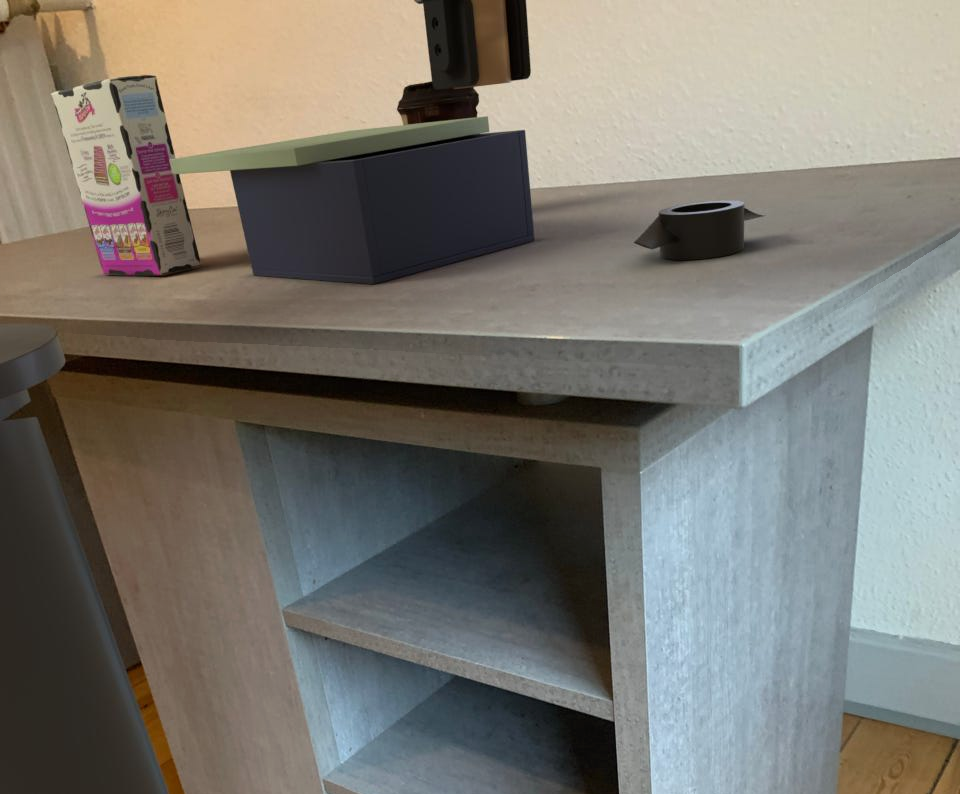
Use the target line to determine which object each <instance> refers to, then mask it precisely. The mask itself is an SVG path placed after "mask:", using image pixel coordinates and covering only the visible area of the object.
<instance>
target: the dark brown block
mask: <svg viewBox="0 0 960 794" xmlns="http://www.w3.org/2000/svg"><path fill="white" fill-rule="evenodd" d="M479 103H480V95H479V93H478V92H477V90H476V89H475V87H469V88H460V89H454V88H449V89H440V90H436V89H435V88H434V87H433V84H432V80H431V81H427V82H420V83H414V84H408V85H406V86H404V88H403V91H402V95H401V99H400V100H399V101H398V103H397V107H396V111H397V113H398V114H399V116H400V117H401V121H402V125H409V124H419V123H428V122H438V121H447V120H457V119H466V118H476V117H478V114H479V113H478V109H477V107H478V106H479Z"/></svg>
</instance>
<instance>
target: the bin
mask: <svg viewBox="0 0 960 794" xmlns="http://www.w3.org/2000/svg"><path fill="white" fill-rule="evenodd" d="M527 146H528V145H527V136H526V130H525V129H519V130H507V131H506V130H505V131H496V132H495V131H494V132H486V133H480V134H475V135H469V136H463V137H458V138H452V139H446V140H441V141H435V142H430V143H424V144H418V145H413V146H407V147H401V148H396V149H390V150H384V151H379V152H373V153H367V154H362V155H356V156H351V157H345V158H339V159H334V160H328V161H322V162H317V163H311V164H305V165H300V166H288V167H274V168H259V169H244V170H230V171H229V173H230V177H231V182H232V186H233V191H234V195H235V199H236V203H237V204H236V205H237V208H238V213H239V218H240V222H241V226H242V232H243V236H244V240H245V244H246V249H247V254H248V258H249V263H250V267H251V270H252V276H257V277H269V278H271V277H272V278H282V279H283V278H285V279H287V278H288V279H299V280H311V281H312V280H313V281H324V282H325V281H326V282H339V283H353V284H367V285H376V284H377V285H378V284H380V283H385V282H388V281H391V280H396V279H399V278H402V277H405V276H410V275H414V274H416V273H421V272H424V271H428V270H431V269H435V268H439V267H443V266H446V265H450V264H454V263H457V262H461V261H465V260H468V259H472V258H476V257H479V256H483V255H487V254H490V253H494V252H498V251H502V250H505V249H509V248H512V247H517V246H520V245H523V244H527V243H531V242H535V239H536V237H535V228H534V227H535V226H534V215H533V204H532V194H531V193H532V192H531V183H530V182H531V181H530V171H529V159H528V147H527Z"/></svg>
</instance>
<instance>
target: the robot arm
mask: <svg viewBox="0 0 960 794" xmlns="http://www.w3.org/2000/svg"><path fill="white" fill-rule="evenodd" d="M413 1H414V2H415V3H416V4H418V5H423V16H424V23H425V24H424V26H425V33H426V43H427V50H428V60H429V67H430V77H431V81H432V84H433V87H434V88H435V89H436V90H440V89H449V88H457V87H466V86H474V85H476V84H477V82H478V80H479V69H478V58H477V46H476V35H475V24H474V13H473V4H472V2H471V0H413ZM505 6H506V19H507V32H508V45H509V58H510V72H511V82H514V81H523V80H527V79H530V77H531V73H532V67H531V54H530V53H531V52H530V38H529V25H528V9H527V0H505Z"/></svg>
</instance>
